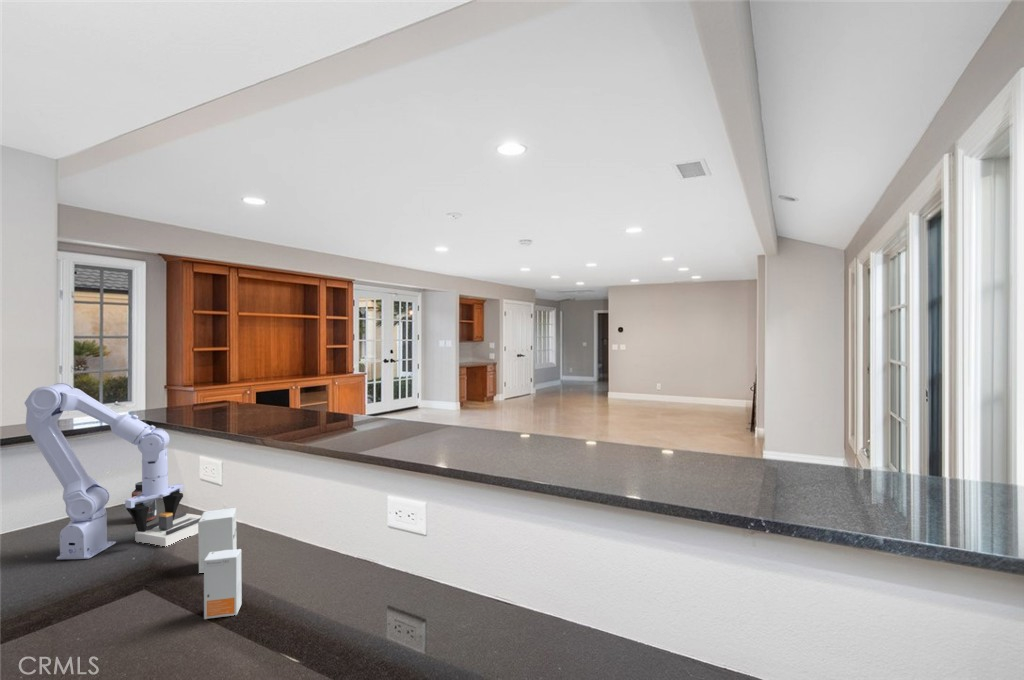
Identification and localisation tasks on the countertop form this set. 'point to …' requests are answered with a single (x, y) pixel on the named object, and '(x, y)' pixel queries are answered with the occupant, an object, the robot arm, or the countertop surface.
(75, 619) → the countertop surface
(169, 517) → the handle
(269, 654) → the countertop surface
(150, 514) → the supplement bottle
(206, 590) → the skincare box
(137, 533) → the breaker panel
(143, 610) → the countertop surface
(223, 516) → the supplement box
